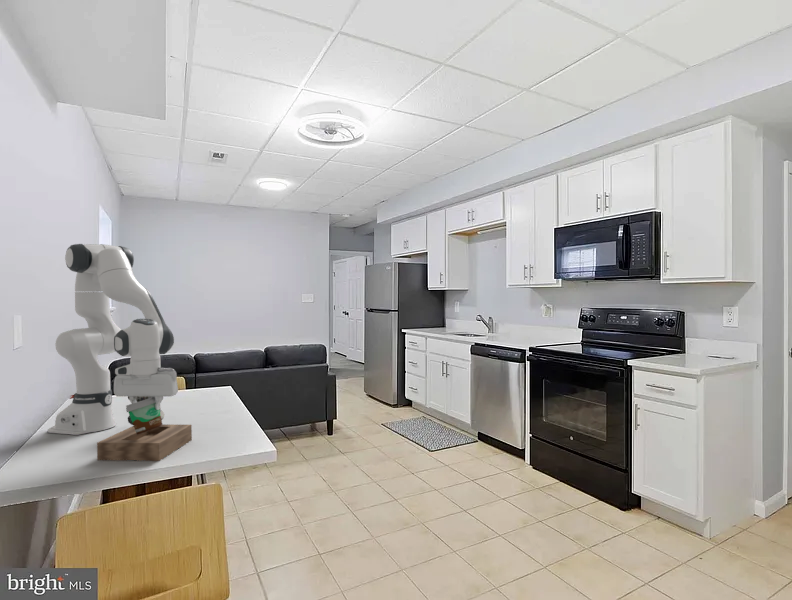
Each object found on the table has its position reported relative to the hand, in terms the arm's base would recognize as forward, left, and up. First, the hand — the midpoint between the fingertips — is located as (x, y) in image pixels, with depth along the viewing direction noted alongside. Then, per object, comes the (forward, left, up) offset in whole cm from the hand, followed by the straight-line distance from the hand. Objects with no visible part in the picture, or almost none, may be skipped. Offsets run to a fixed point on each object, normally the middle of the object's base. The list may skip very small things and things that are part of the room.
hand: (146, 409), depth 153 cm
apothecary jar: (-12, +19, -14) cm, 26 cm away
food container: (+3, 0, -6) cm, 7 cm away
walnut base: (0, 0, -13) cm, 13 cm away
